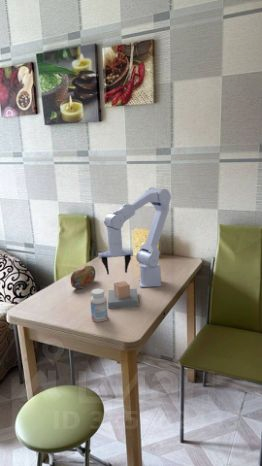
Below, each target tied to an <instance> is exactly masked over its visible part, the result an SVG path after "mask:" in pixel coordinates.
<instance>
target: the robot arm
mask: <svg viewBox="0 0 262 466" xmlns="http://www.w3.org/2000/svg"><path fill="white" fill-rule="evenodd" d="M171 199H172V195H171V193H170V191H169V190H168V189H167V188H156V187H152V186H151V187H149V188H148V189H146V190H145V191H144V193H142V195H140V196H139V197H138V198H136V199H135V200H134V201H132V203H123V204H122V206H121V207H120V208H118V209H116V210H114V212H113V213H108V214H107V215H106V216H105V218H104V220H103V224H104V226H105V227H106V230H107V244H108V251H104V252H98V260H101V262H102V264H103V266H104V268H105V270H106V274H107V275H110V272H109V265H108V264H109V263H108V258H117V257H119V258H120V257H123V259H124V272H125V274H127V273H128V268H129V264H130V263H131V260H132V257H134V250H133V249H131V250H126V249H125V250H124V249H123V239H122V238H123V237H122V236H123V235H122V228H123V226H124V223H126V222H127V221H128V220H129V219H130V218H133V216H135V214H136V211H138V210H139V209H141V208H142V207H144V206H145V205H147V204H149V203H150V204H151V205H152V206H153V208H154V209H155V212H154V216H153V219H152V220H151V225H150V228H149V231H148V233H147V237H146V240H145V243H143V244H142V245H141V246H140V247H139V250H138V251H137V253H136V255H135V258H136V261H137V262H138V264H139V274H140V275H139V276H140V277H139V278H140V279H139V280H138V281H139V286H140V288H149V287H150V288H151V287H152V288H153V287H154V288H155V287H162V271H161V264H159V263H160V253H161V252H160V250H159V248H158V245H159V242H160V238H161V235H162V232H163V229H164V226H165V223H166V220H167V216H168V214H169V211H170V209H169V208H170V202H171Z"/></svg>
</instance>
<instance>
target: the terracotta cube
mask: <svg viewBox="0 0 262 466" xmlns="http://www.w3.org/2000/svg"><path fill="white" fill-rule="evenodd" d="M130 289H131V285H130V284H129V283H128V282H127V281H125V280H123V281H122V280H121V281H119V282H113V290H114V294H115V295H116V296H117V297H118V298H119V299H121V298H125V297H129V296H130Z"/></svg>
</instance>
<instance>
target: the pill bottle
mask: <svg viewBox="0 0 262 466" xmlns="http://www.w3.org/2000/svg"><path fill="white" fill-rule="evenodd" d="M89 301H90V314H91V320H92V321H93V322H96V323H99V322H104V321H107V320H108V317H109V316H108V315H109V314H108V311H109V310H108V297H107V296H106V295H105V290H104V289H102V288H95V289H92V290H91V297H90V300H89Z"/></svg>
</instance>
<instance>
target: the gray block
mask: <svg viewBox="0 0 262 466" xmlns="http://www.w3.org/2000/svg"><path fill="white" fill-rule="evenodd" d="M138 296H139V295H138V289H137V288H130V296H129V297H125V298H121V299H119V298H118V297H117V296H116V295H115V294H114V289H109V290H108V295H107V309H117V308H118V309H119V308H121V309H122V308H134V307H135V308H136V307H139V299H138Z"/></svg>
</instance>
